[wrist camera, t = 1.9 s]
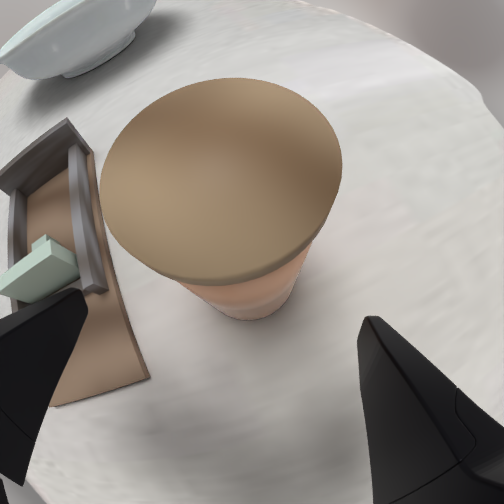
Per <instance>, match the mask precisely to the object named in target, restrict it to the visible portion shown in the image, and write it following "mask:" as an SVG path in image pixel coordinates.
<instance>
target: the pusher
mask: <svg viewBox="0 0 504 504" xmlns="http://www.w3.org/2000/svg"><path fill="white" fill-rule="evenodd" d="M78 278H80V272H79V266H78V261H77V255H76V254H75V253H73V252H71V251H69V250H68V249H66V248H64V247H63V246H61V245H60V242H58V241H57V240H55V239H53V238H52V237H50V236H49V235H47V234H45V235H44V236H42V237H41V238H40V239H38V240H37V241H35V242H34V243H33V244H32V252H31V253H30V254H28V255H27V256H26V257H24V258H23V259H22V260H20V261H19V262H18V263H16V264H15V265H14V266H12V267H11V268H10V269H9V270H7V271H6V272H5V273H4V274H2V275H1V276H0V294H1V295H4V296H7V297H10V298H13V299H17V300H20V301H23V302H26V303H30V304H34V303H36V302H38V301H40V300H42V299H44V298H45V297H47V296H49V295H50V294H52V293H54V292H55V291H57V290H59V289H61V288H62V287H64V286H66V285H67V284H69V283H71V282H73V281H75V280H76V279H78Z"/></svg>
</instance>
